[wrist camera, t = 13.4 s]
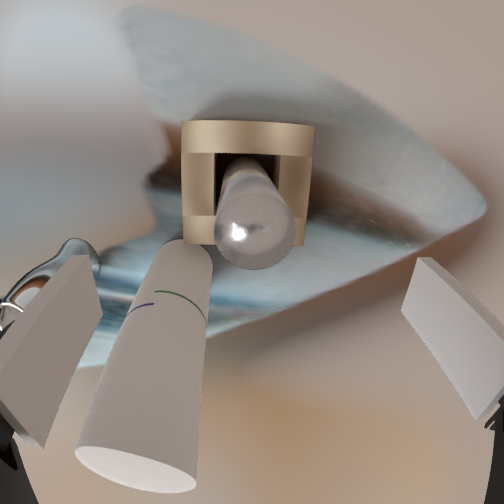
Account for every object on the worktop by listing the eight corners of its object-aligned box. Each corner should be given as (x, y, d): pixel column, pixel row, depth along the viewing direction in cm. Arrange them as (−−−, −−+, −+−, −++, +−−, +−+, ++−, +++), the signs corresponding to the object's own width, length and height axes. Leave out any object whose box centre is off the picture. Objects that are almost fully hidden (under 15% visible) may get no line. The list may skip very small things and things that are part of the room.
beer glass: (97, 290, 35) (49, 370, 21) (55, 269, 33) (-3, 337, 19) (108, 248, 32) (49, 324, 19) (63, 225, 30) (-9, 287, 17)
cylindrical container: (145, 249, 33) (51, 440, 10) (200, 231, 32) (155, 448, 10) (168, 297, 36) (122, 489, 13) (220, 283, 35) (215, 492, 13)
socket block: (189, 229, 32) (183, 244, 28) (188, 121, 27) (181, 120, 23) (295, 231, 33) (303, 246, 29) (304, 125, 28) (315, 126, 24)
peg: (224, 156, 29) (213, 192, 14) (266, 158, 29) (299, 194, 15) (223, 197, 31) (214, 269, 16) (264, 198, 31) (291, 269, 17)
